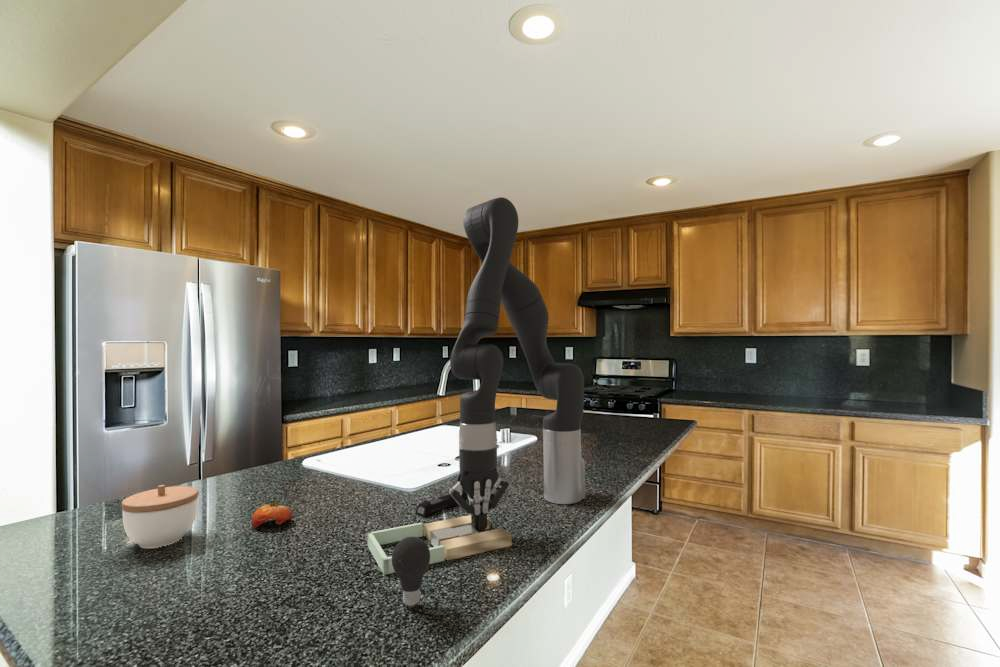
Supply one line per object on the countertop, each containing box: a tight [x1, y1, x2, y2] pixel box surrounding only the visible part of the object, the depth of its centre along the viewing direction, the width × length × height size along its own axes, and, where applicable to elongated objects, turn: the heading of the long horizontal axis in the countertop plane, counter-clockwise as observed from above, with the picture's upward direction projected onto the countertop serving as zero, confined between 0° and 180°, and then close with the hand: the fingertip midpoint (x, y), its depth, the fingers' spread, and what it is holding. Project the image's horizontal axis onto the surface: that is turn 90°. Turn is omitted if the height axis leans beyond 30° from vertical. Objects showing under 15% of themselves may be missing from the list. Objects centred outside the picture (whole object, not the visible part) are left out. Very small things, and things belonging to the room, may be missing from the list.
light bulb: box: [391, 537, 430, 608], centre depth 72 cm, size 6×6×10 cm
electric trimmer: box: [414, 489, 468, 518], centre depth 114 cm, size 4×16×3 cm, turn 138°
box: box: [366, 522, 446, 576], centre depth 90 cm, size 11×13×2 cm
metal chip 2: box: [452, 525, 478, 537], centre depth 94 cm, size 4×4×2 cm
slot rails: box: [422, 514, 513, 561], centre depth 95 cm, size 13×14×2 cm
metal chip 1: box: [430, 527, 458, 547], centre depth 93 cm, size 4×4×2 cm
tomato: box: [251, 499, 293, 531], centre depth 104 cm, size 8×7×7 cm
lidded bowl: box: [121, 484, 200, 550], centre depth 97 cm, size 13×13×11 cm
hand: (479, 531), depth 96 cm, fingers closed
